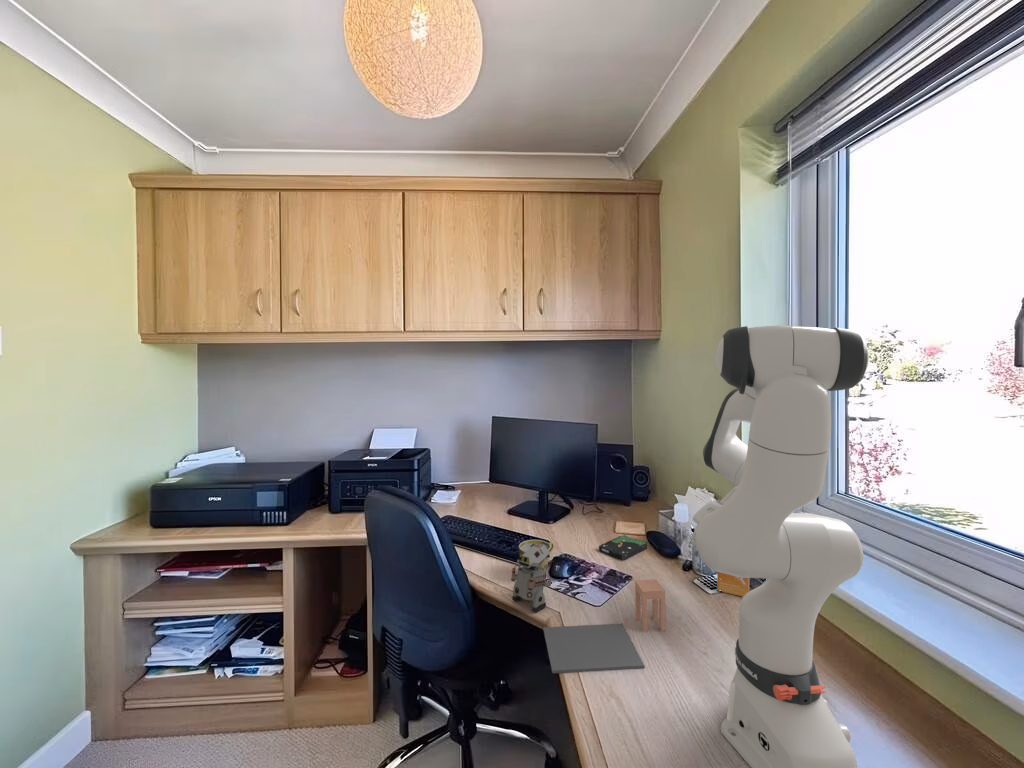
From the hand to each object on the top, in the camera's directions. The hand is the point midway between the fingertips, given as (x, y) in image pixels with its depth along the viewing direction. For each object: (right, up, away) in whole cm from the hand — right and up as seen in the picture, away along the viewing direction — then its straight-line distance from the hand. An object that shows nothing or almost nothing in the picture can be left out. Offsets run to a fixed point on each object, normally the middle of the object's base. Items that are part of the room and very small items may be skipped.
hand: (701, 550), depth 106 cm
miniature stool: (-13, -19, 0) cm, 23 cm away
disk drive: (-8, -18, +43) cm, 47 cm away
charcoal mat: (-30, -19, -8) cm, 36 cm away
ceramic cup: (-39, -18, +26) cm, 50 cm away
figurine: (-42, -19, +12) cm, 47 cm away
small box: (+16, -18, +16) cm, 29 cm away
